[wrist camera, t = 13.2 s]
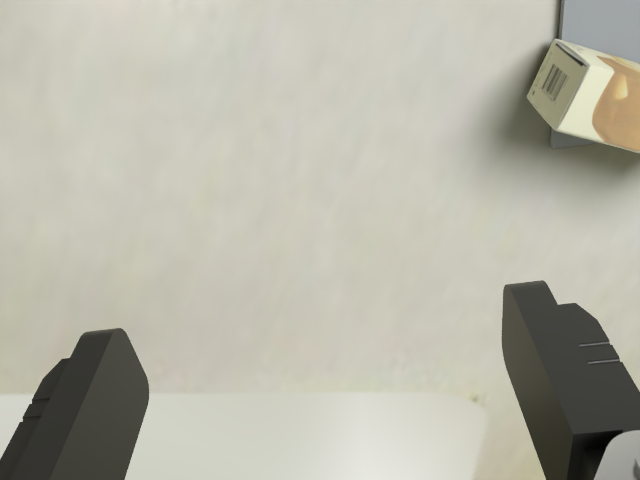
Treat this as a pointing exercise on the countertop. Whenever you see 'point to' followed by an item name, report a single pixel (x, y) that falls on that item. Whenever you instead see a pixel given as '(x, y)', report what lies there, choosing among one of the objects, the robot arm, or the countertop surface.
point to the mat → (599, 38)
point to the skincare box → (589, 95)
